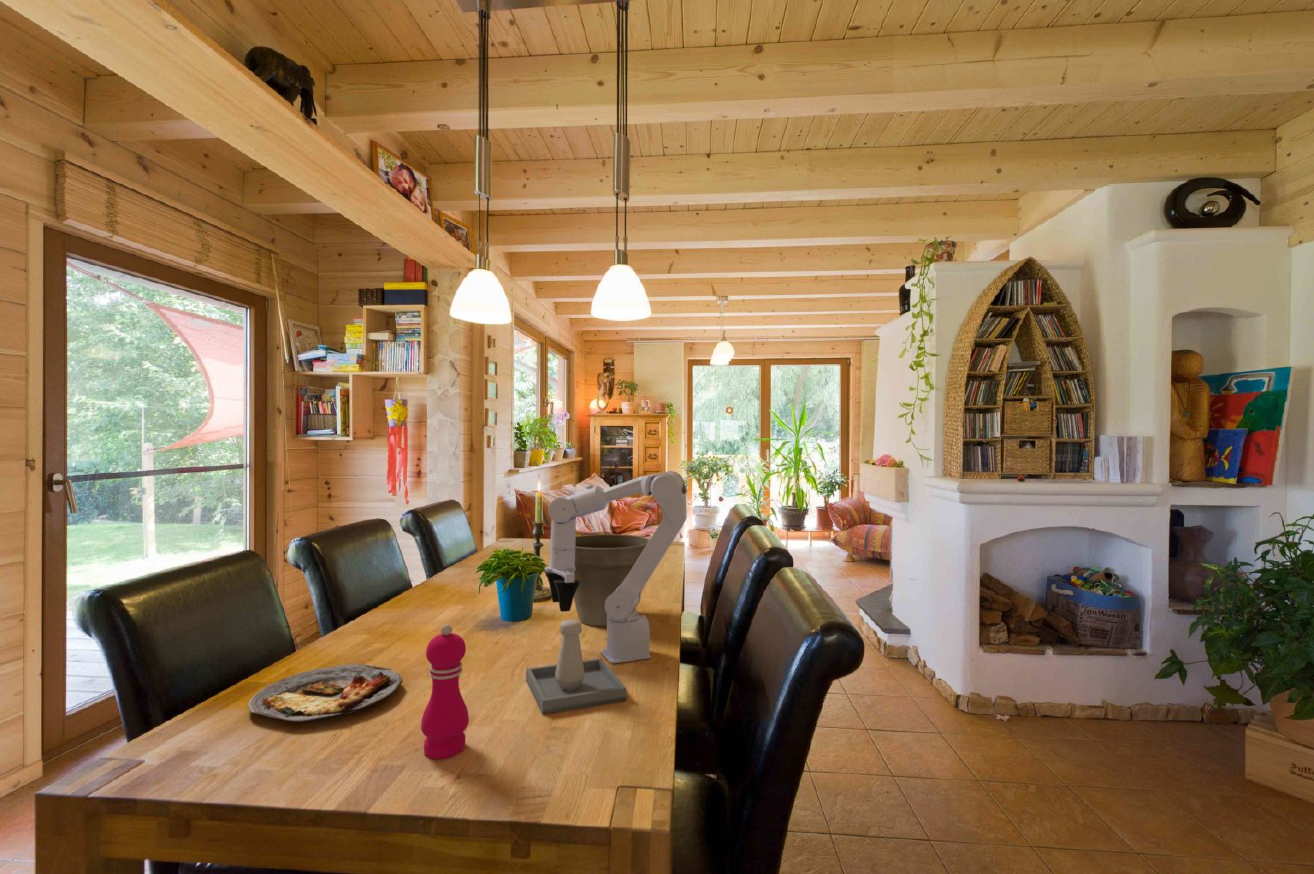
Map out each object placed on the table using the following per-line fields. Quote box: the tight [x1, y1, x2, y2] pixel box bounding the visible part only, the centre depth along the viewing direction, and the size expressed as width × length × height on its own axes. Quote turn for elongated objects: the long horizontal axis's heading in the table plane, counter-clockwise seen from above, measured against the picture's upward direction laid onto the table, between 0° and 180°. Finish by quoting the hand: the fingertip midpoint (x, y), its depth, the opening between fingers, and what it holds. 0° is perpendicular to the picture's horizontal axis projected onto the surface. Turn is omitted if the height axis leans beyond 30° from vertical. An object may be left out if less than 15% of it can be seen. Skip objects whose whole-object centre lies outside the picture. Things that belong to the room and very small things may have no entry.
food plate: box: [248, 663, 403, 723], centre depth 114 cm, size 25×23×4 cm
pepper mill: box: [420, 623, 470, 760], centre depth 97 cm, size 7×7×20 cm
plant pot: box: [573, 533, 651, 627], centre depth 166 cm, size 25×25×22 cm
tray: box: [525, 657, 627, 716], centre depth 119 cm, size 16×16×2 cm
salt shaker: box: [555, 618, 585, 691], centre depth 119 cm, size 6×6×13 cm
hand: (561, 606), depth 141 cm, fingers open, 7 cm apart
